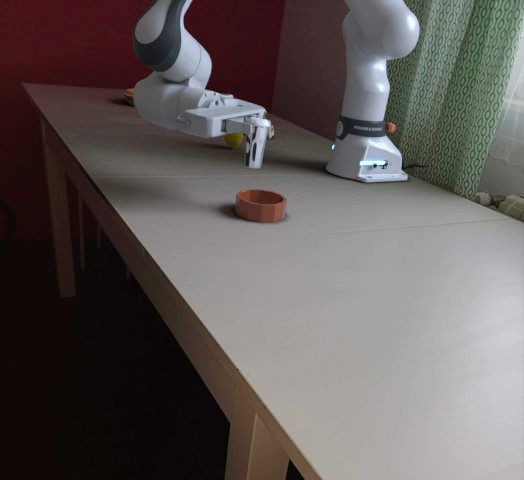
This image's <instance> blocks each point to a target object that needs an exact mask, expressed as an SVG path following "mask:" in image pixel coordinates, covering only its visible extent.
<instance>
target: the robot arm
mask: <svg viewBox="0 0 524 480" xmlns="http://www.w3.org/2000/svg"><path fill="white" fill-rule="evenodd" d="M343 1H344V3H345V4H346V6H347V7H348V8H349V11H348V12H347V14H346V15H345V17H344V19H343V22H342V26H341V34H342V35H341V36H342V38H343V41H344V44H345V64H346V65H345V66H346V72H345V73H346V74H345V76H346V78H345V88H344V92H343V93H344V94H343V100H342V107H341V112H340V114H339V115H338V120H337V125H336V132H335V141H334V144H333V145H332V148H331V149H332V151H331V154H330V156H329V160H328V162H327V164H326V166H325V170H326V171H327V172H328V173H330V174H333V175H335V176H339V177H341V178H346V179H351V180H354V181H355V180H356V181H358V182H362V183H384V182H385V183H386V182H401V181H408V177H409V176H408V174H407V173H406V172H405V171H404V170H402V169H406V168H407V167H414V168H427V167H429V166H426V165H418V164H419V163H417V162H412V161H411V162H405V158H404V156H403V155H402V150H399V149H398V148H397V147H396V146H395V144H394V143H393V142H392V141H391V139H390V138H389V137H388V136H387V134H388V133H387V132H389V133H395V132H394V131H396V124H394V123H392V122H387V121H386V120H385V113H386V110H387V106H388V100H389V96H390V91H391V85H390V81H389V78H388V74H387V61H393V60H397V59H402V58H405V57H406V56H408V55H409V54H410V53H411V52H412V51H413V50H414V49H415V47H416V46H417V43H418V40H419V37H420V31H421V30H420V29H421V28H420V23H419V20H418V18H417V16H416V15H415V14H414V13H413V12H412V11H411V10H410V8H409V7H408V6H407V5H406V3H405V2H404V0H343ZM192 2H193V0H152V1H151V3H150V4H149V6H148V7H147V8H146V9H145V10H144V12H142V14H141V15H140V16H139V17H138V19H137V21H136V22H135V25H134V27H133V31H132V48H133V52H134V55H135V57H136V59H137V60H138V61H139V62H140V63H142V64H143V65H144V66H146V67H148V68H149V69H151V70H152V73H150V74H149V75H148V76H147V77H145V78H144V79H141V80H139V81H137V82H136V84H135V86H134V92H133V100H134V105H135V106H134V108H135V110H136V112H137V113H138V115H139V116H140V117H141V118H142V119H143V120H144V121H146V122H148V123H150V124H152V125H155V126H157V127H161V128H164V129H168V130H179V131H180V132H182V133H183V134H187V135H191V136H195V137H198V138H202V139H209V138H211V139H212V138H217V137H221V136H224V135H226V134H231V133H243V134H245V135H246V134H252V133H254V131H255V130H254V128H255V125H254V124H253V123H249V122H246V120H247V119H249V118H251V117H255V118H258V117H259V118H261V119H262V118H263V114H264V111H266V108H265V107H263V106H261V105H258V104H255V103H252V102H249V101H246V100H243V99H238V98H234V95H233V94H230V93H225V92H216V91H213V90H209V89H206V88H207V85H208V83H209V81H210V78H211V75H212V70H213V63H212V62H213V61H212V57H211V56H210V54H209V52H208V51H207V50H206V49H205V48H204V46H203V45H201V44H200V43H199V42H198V40H197V39H196V38H194V36H192V34H190V33H189V32H188V31H187V29H186V28H185V25H184V17H185V15H186V12H187V11H188V9H189V8H190V6H191V4H192ZM266 112H267V111H266ZM265 119H266V118H265ZM266 120H267V121H268V122H269V124H270V125H272V122H271V120H270V119H266ZM269 129H270V126H269Z"/></svg>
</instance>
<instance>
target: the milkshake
mask: <svg viewBox="0 0 524 480" xmlns="http://www.w3.org/2000/svg"><path fill="white" fill-rule="evenodd" d="M266 116H267V111H264V114H263V118H262V119H261V118H259V117H258V118H255V117H251V118H249V119H247V120H246V122H249V123H253V124H254V125H255V128H254V130H255V131H254V133H252V134H245V141H244V142H245V143H244V159H243V164H244V167H246V168H248V169H254V170H255V169H256V170H257V169H261V168H262V163H263V160H264V159H263V157H264V155H265V154H264V153H265V148H266V143H267V134H268V130H269V126H270V124H269V122H268V121H267V120H268V119H267V120H266Z"/></svg>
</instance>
